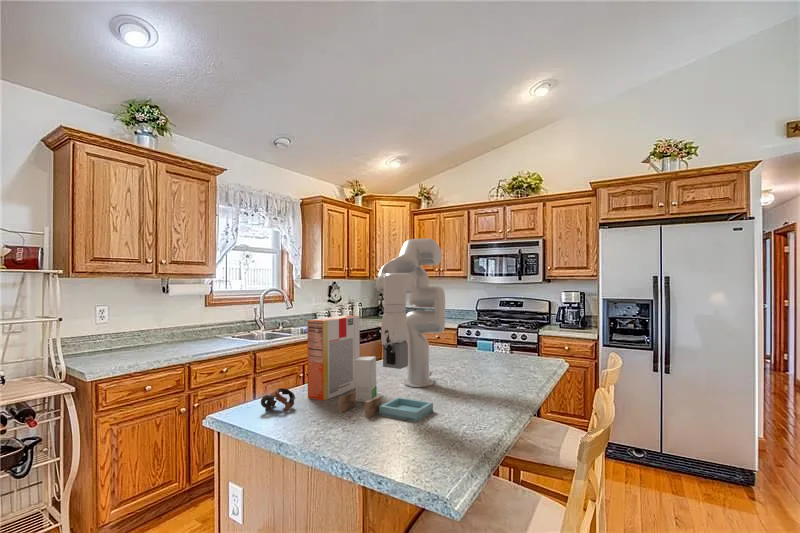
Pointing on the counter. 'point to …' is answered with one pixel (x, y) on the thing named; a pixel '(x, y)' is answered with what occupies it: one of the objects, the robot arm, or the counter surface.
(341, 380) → the cereal box
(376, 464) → the counter surface
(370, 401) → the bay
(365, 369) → the skincare box
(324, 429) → the counter surface
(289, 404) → the brown looped piece
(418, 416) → the tray
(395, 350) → the grey rectangular block
